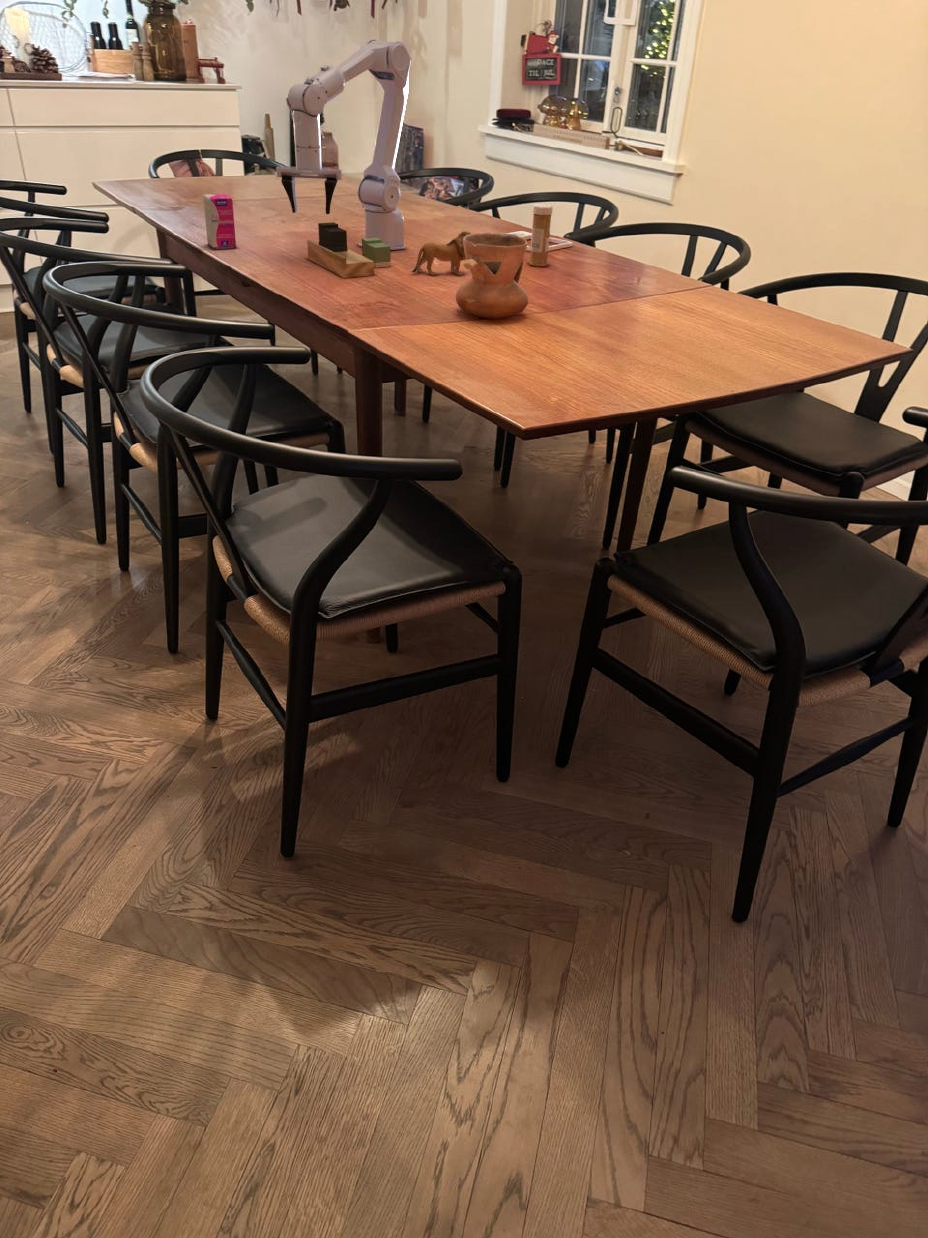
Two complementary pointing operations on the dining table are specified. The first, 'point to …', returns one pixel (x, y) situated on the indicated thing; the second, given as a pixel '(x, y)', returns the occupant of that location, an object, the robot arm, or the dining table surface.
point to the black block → (332, 237)
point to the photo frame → (561, 242)
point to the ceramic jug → (493, 275)
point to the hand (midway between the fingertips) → (311, 212)
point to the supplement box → (219, 221)
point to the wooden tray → (340, 261)
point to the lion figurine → (443, 254)
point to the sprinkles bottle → (540, 234)
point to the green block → (376, 252)
